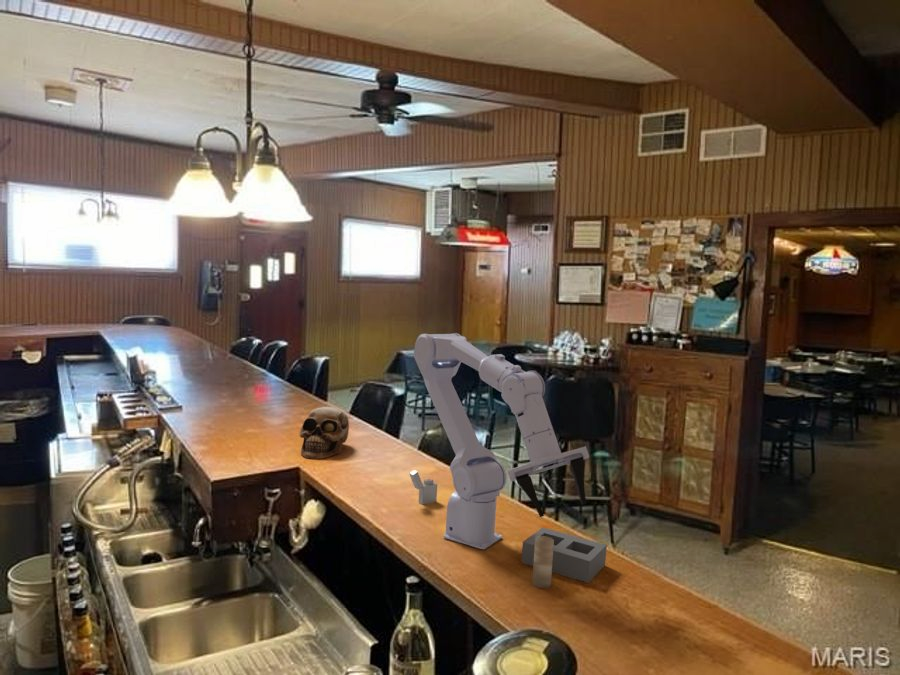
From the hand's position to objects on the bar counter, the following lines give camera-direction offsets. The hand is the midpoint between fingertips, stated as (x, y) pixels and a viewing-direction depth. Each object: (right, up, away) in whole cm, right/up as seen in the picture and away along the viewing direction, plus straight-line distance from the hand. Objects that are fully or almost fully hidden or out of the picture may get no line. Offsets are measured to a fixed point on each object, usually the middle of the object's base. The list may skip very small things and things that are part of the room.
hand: (563, 510), depth 112 cm
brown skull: (-56, -3, +76) cm, 95 cm away
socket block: (+1, -12, +8) cm, 15 cm away
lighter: (-26, -8, +37) cm, 46 cm away
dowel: (-4, -13, 0) cm, 13 cm away
